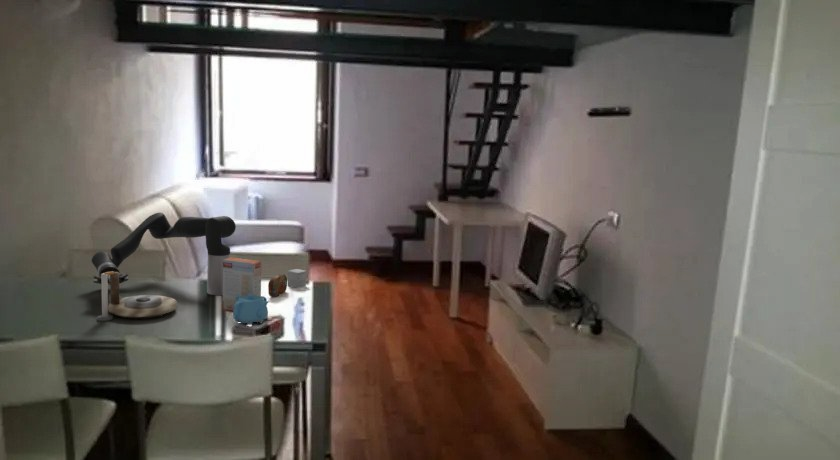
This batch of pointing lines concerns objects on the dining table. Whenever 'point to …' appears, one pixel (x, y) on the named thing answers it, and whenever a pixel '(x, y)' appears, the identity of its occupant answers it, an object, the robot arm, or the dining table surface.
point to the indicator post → (105, 298)
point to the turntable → (138, 302)
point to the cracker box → (240, 280)
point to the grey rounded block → (296, 278)
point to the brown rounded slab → (277, 286)
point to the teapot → (250, 308)
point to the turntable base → (142, 317)
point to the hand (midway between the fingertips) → (113, 283)
